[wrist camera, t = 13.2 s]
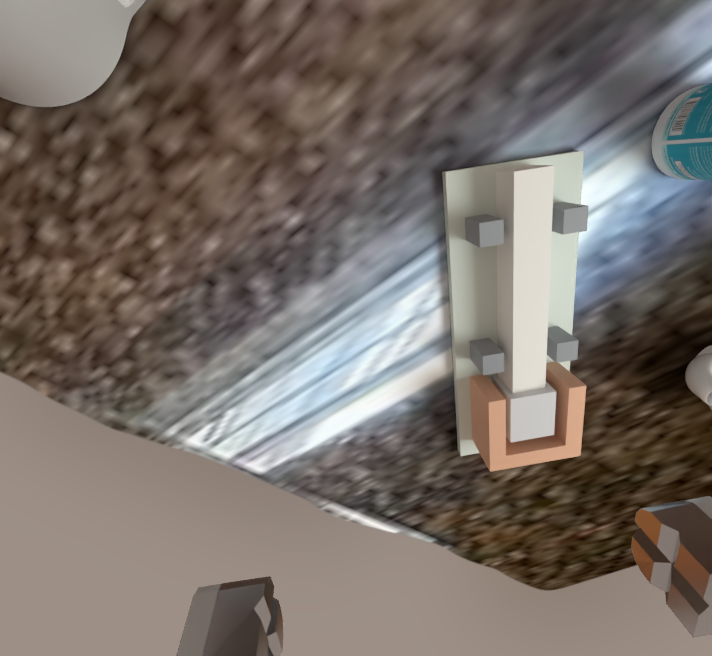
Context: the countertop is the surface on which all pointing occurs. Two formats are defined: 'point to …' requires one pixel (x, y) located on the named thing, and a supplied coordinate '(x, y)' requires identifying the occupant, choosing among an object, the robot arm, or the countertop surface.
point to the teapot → (701, 375)
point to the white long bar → (525, 299)
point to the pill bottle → (685, 136)
